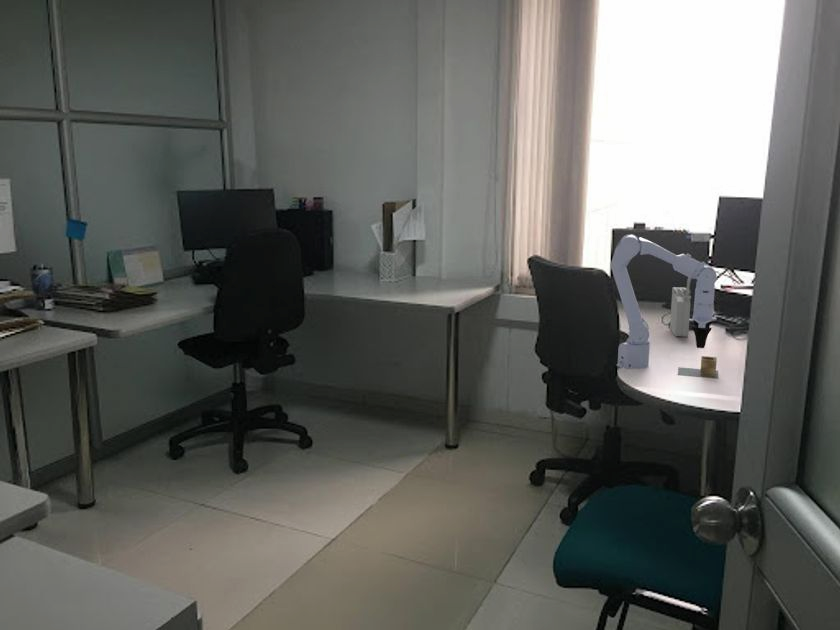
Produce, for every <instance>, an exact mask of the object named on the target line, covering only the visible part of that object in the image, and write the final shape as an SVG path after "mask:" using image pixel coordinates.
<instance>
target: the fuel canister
mask: <svg viewBox="0 0 840 630" xmlns="http://www.w3.org/2000/svg"><path fill="white" fill-rule="evenodd" d="M691 280H692V278H690V277H688V276H687V282H686V287H676V286H675V287H674V286H673V287H672V290H671V304H670V305H671V306H670V307H671V308H670V322H669V323H670V324H669V330H670V331H671V332H672V334H673V336H674V337H676V336H678V337H677V338H681V337H683V338H689V332H690V331H689V329H690V318H691V317H690V316H691V314H690V313H691V299H692V296H691V289H690V288H691V287H690V285H691ZM679 336H680V337H679Z"/></svg>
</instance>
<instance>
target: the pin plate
mask: <svg viewBox="0 0 840 630" xmlns="http://www.w3.org/2000/svg"><path fill="white" fill-rule="evenodd" d="M700 371H701V368H692V367H691V368H690V367H681V366H680V367H679V366H678V368H677V376H684V377H693V378H694V377H695V378H705V379H716V380H717V379H719V370H717V369H716V376H706V375H700Z"/></svg>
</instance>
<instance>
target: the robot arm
mask: <svg viewBox="0 0 840 630" xmlns="http://www.w3.org/2000/svg"><path fill="white" fill-rule="evenodd" d="M638 253H639V254H640V255H641V256H643V255H651V256H653V257H656V259H657V258H658V259H660V260H663V261H665V262H666V263H668V264H672V268H673V270H674V271H675V272H678V273H679V274H682V275H683V276H685V277H687V278H688V277H690V278H691V280H695V279H696V286H695V291H694V299H693V300H694V302H693V303H694V304H693V313H692V314H693V315H692V320H693V324H694V325H692V330H693V333H694V336H695V337H694V338H695V344H696V348H697V349H705V346H706V343H707V342H706V341H707V339H708V336H709V334H710V332H711V331H712V327H711V324H712V323H713V322H714V321H717V317H716V316H714V314H713V313H714V305H715V304H714V303H715V284H716V282H717V280H718V276H717V272H716V271H715V269H714V268H713V267H712V266H711V265H709V264H708V263H705V261H701V262H700V260H696V259H695V258H693V257H692V255H691V254H690V253H686V254H685V253H680V254H678V255H677V254H675V253H673V252H672V251H669V250H668V249H665V248H664V247H663V246H660V245H658V244H657V243H655V242H652V241H650V240H648V239H647V238H643V237H641V236H640V237H638V236H637V235H635V234H632V233H630V234H629V233H628V234H625V235H623V236H622V237H621V239H620V240H619V241H618V242H617V244H616V246H615V250H614V254H613V256H612V260H611V262H610V269H611V271H612V275H613V278H614V281H615V285H616V287H617V291H618V293H619V296H620V300H621V304H622V306H623V309H624V312H625V316H626V319H627V320H626V321H627V324H628V331H629V332H628V338H627V339H626V341H625V342H621V343H620V344H618V345H619V346H618V348H617V349H618V350H617V351H618V353H617V364H616V366H617V367H618V368H620V369H622V368H624V369H625V370H629V369H630V370H631V369H646V368H648V367H649V365H650V364H649V363H650V361H649V360H650V345H651V343H650V342H651V341H650V339H649V337H650V331H649V329H650V328H649V327H650V326H649V324H648V323H647V321H646V320H645V319H644V318H643V315H642V312H641V310H640V306H639V304H638V300H637V298H636V294H635V291H634V288H633V284H632V282H631V278H630V275H629V272H628V268H627V267H628V265H629V263H630V262H631V260H632V259H633V258H634V257H636V256H637V255H638Z"/></svg>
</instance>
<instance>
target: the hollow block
mask: <svg viewBox="0 0 840 630" xmlns="http://www.w3.org/2000/svg"><path fill="white" fill-rule="evenodd" d="M700 361H701V362H700V369H701V371H700V375H706V376H716V370H717V362H718V361H717V357H715V356H706V355H702V356H701V358H700Z"/></svg>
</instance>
